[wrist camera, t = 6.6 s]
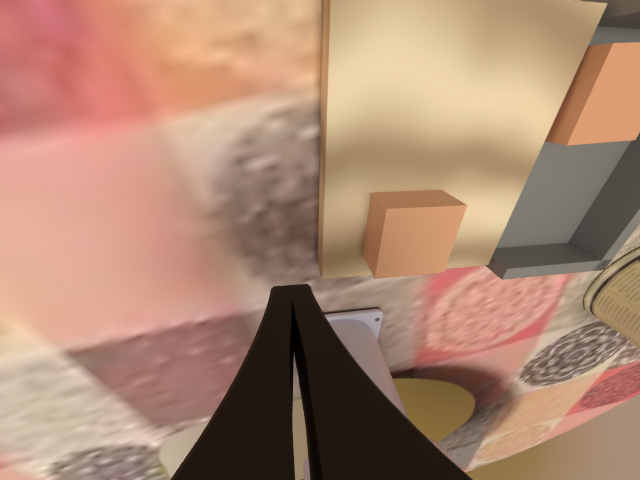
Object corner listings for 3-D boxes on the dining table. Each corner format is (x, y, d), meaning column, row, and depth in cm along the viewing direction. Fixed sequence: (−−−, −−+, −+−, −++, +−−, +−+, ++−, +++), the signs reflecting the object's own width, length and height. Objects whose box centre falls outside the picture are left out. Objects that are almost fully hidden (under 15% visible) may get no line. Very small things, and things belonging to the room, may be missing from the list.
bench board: (470, 250, 21) (488, 264, 19) (317, 262, 19) (322, 279, 17) (564, 14, 13) (607, 3, 11) (322, -5, 11) (331, -21, 10)
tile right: (590, 133, 16) (635, 139, 14) (529, 138, 16) (566, 145, 14) (632, 47, 14) (694, 40, 12) (562, 49, 13) (613, 43, 11)
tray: (564, 248, 23) (604, 269, 20) (473, 255, 21) (502, 279, 19) (711, 13, 14) (813, -4, 12) (576, 2, 13) (656, -21, 10)
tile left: (424, 251, 18) (443, 272, 15) (362, 255, 17) (374, 278, 15) (441, 189, 15) (467, 205, 13) (370, 192, 15) (386, 208, 13)
